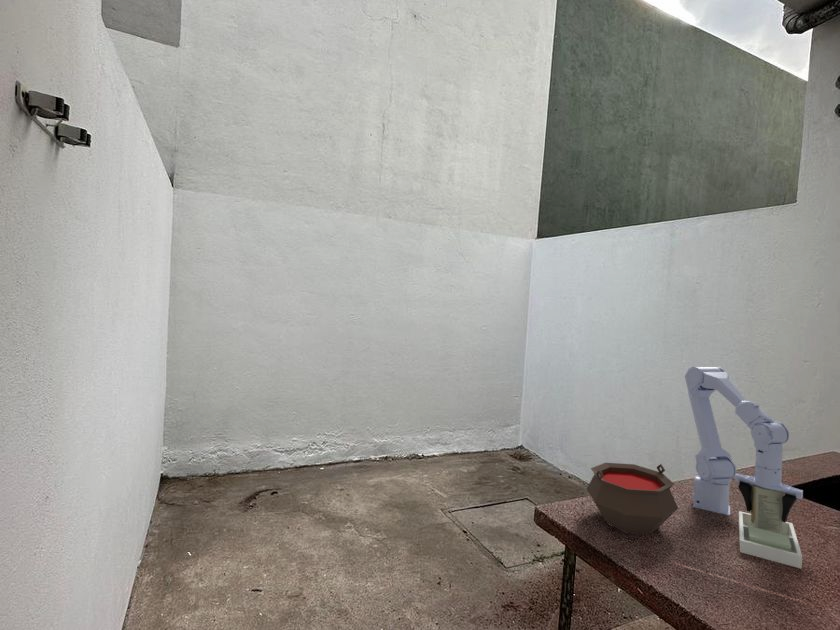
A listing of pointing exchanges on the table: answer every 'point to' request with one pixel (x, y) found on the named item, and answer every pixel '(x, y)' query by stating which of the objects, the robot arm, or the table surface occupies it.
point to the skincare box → (766, 509)
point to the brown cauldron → (632, 496)
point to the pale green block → (769, 538)
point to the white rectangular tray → (769, 552)
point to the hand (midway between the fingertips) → (766, 515)
